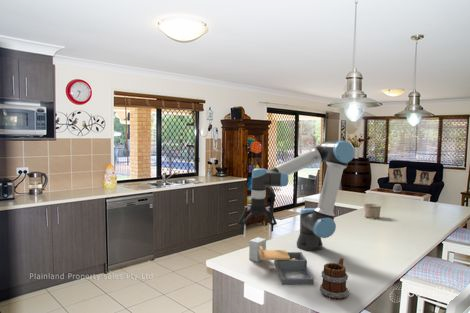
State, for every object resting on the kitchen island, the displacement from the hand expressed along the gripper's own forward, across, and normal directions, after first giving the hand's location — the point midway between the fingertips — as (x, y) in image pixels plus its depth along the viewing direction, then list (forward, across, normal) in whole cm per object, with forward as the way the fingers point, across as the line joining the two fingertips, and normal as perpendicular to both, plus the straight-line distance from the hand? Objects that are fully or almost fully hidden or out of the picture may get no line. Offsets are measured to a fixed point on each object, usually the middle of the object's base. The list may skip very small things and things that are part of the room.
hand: (257, 237), depth 178 cm
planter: (+10, -104, -93) cm, 140 cm away
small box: (+12, 0, 0) cm, 12 cm away
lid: (+5, -7, +12) cm, 15 cm away
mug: (+12, -30, +39) cm, 50 cm away
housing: (+12, -16, +19) cm, 27 cm away
